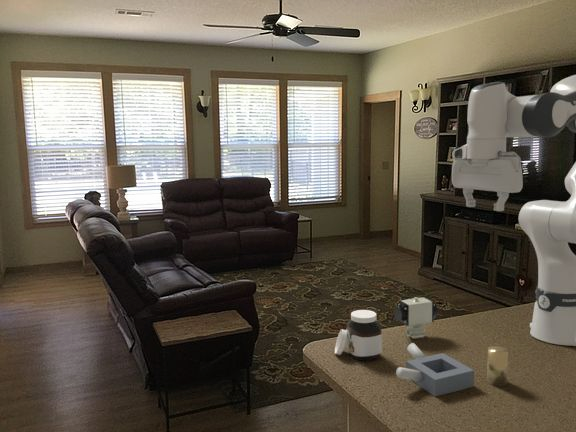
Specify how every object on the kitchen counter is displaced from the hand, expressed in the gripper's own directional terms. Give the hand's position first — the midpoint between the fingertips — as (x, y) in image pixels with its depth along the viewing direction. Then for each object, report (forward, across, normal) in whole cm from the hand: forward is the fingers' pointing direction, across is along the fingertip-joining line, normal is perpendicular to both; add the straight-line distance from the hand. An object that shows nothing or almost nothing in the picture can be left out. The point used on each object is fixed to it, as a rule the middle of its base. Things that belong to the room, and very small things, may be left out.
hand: (484, 208), depth 123 cm
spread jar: (+41, +19, +25) cm, 51 cm away
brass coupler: (+40, -9, +3) cm, 41 cm away
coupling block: (+40, 0, +18) cm, 44 cm away
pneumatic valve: (+40, +23, +3) cm, 47 cm away
